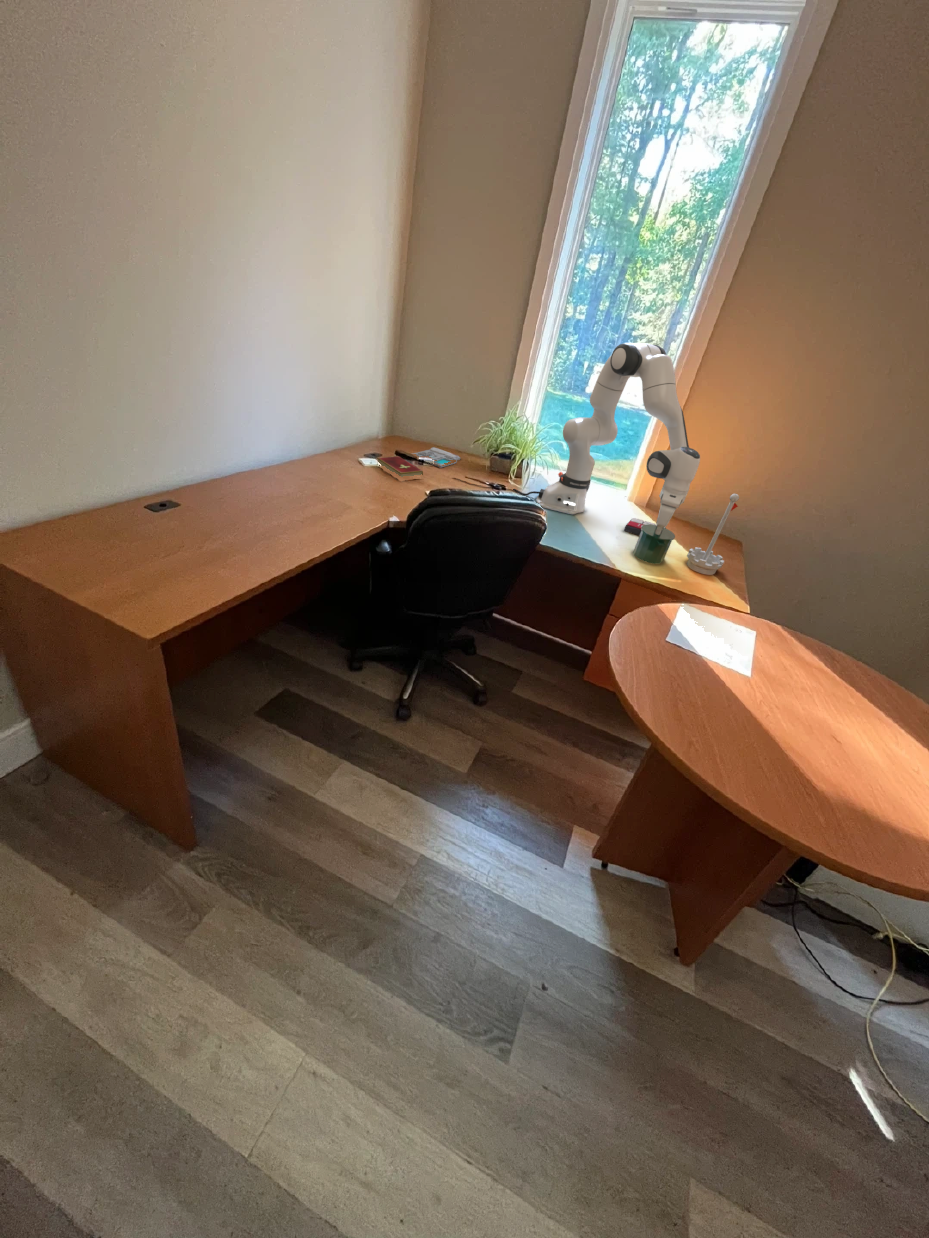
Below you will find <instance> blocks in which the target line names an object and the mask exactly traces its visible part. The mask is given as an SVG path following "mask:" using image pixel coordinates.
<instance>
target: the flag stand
mask: <svg viewBox="0 0 929 1238" xmlns="http://www.w3.org/2000/svg"><path fill="white" fill-rule="evenodd" d="M739 499H740V495H739V494H737V493H731V495H730V496H729V500H730V501H729V503H728V504H727V507H726V509H725V511H724V513H723V516H722V518H721V520H720V522H719V524H718V526H717V528H716V530H715V533H714V534H713V536H712V539H711V541H710V543H709V544H708V547H707V548H706V551H705V550H702V548H701V547H698V546H695V547H694V548H689V550H688V552H687V555H686V557H687V561H686V566H687V567H688V568H689V569H691V570H692V571H694V572H696V573H699V574H702V575H708V576H711V575H715V574H716V572H717V570H720V569H721V568H722V567H723V565H724V564H725V560H723V559H724V557H723V556H722V555H721V554H717V555H715V554H714V550H713V549H714V546H715V544H716V542H717V540H718V538H719V536H720V535H721V532H722V530H723V528H724V526H725V524H726V521H727V519H728V517H729V515H730V513H731V512H732V511H733V510H735V509H737V508H738V507H739V505H738V504H737V503H736V502H738V501H739Z"/></svg>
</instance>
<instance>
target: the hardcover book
mask: <svg viewBox="0 0 929 1238" xmlns="http://www.w3.org/2000/svg"><path fill="white" fill-rule="evenodd" d="M376 459H377V463H378V462H379V463H380V464H381V465H382V466H385V467H386V468H387V469H389V470H390V471H392V472H395V473H396V474H398V475H399V476H401V477H403V476H414V475H421V474H422V475H423V476H424V471H423V470H422V469H420V468H419V467H417V466H415V465H414V464H412V463H410V462H409V461H407V460H406V459H404V458H402V457H401V456H399V455H392V456H391V455H390V456H381V457H380V456H379V457H376ZM379 466H380V465H379Z"/></svg>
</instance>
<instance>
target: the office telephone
mask: <svg viewBox="0 0 929 1238" xmlns="http://www.w3.org/2000/svg"><path fill="white" fill-rule="evenodd" d="M412 454H416V455H417V456H419V457H421V456H429V457H431V458H433V459H432V460H437V461H434V463H435V464H436V465H435V464H433V463H430V464H429V465H432V466H435V467H438V468H440V469H441V468H445V467H448V466H452V465H454V464H457V462H459V461H461V457H460V456H459V455H458V454H455V453H452V452H449V451H446V450H443V449H440V448H438V447H434V446H432V447H431V448H430V449H426V450H422V451H417V452H413V453H412ZM450 460H456V462H454V463H451V464H448V465H445V464H444V463H448V462H451V461H450ZM438 465H439V466H438ZM442 465H444V466H442Z"/></svg>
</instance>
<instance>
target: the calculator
mask: <svg viewBox="0 0 929 1238" xmlns="http://www.w3.org/2000/svg"><path fill="white" fill-rule="evenodd" d="M643 525H656V523H655V522H650V521H646V520H643V519H640V518H636V517H631V519H630V520H629V521H628V522H627V523H626V525H625V527H624V530H623V532H627V533H630V534H633V535H635V536H638V537H639V536H640V533H641V527H642V526H643ZM664 528H666V527H664Z"/></svg>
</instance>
